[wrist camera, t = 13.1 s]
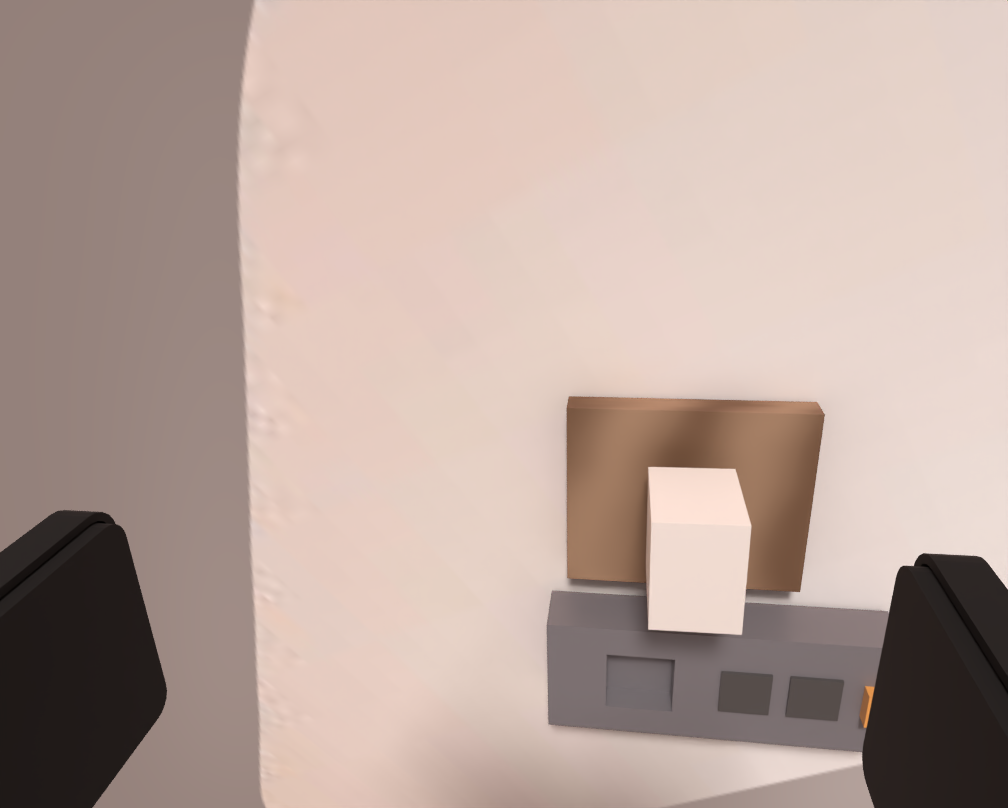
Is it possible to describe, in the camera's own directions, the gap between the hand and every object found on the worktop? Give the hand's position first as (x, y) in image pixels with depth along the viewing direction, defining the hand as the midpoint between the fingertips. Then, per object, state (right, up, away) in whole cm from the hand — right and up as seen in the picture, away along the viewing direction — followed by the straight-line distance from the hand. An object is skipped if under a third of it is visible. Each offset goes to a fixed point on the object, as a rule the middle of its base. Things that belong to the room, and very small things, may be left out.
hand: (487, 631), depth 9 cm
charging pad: (+10, -2, +30) cm, 32 cm away
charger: (+9, -2, +29) cm, 30 cm away
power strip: (+12, -11, +34) cm, 38 cm away
